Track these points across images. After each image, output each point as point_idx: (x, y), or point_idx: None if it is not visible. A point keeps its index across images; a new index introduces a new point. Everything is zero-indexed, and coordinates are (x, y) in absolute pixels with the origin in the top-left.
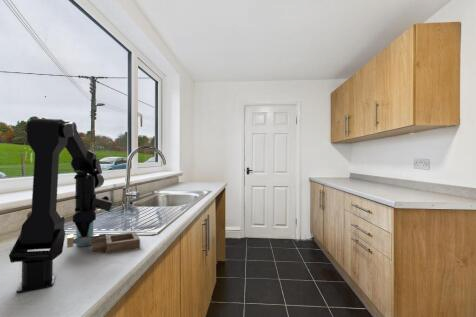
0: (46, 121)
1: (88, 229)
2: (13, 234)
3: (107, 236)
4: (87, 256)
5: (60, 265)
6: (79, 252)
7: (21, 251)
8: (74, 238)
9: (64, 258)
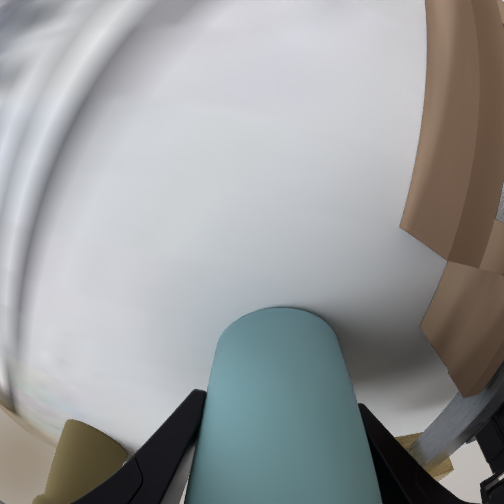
0: None
1: (417, 463)
2: (25, 426)
3: (485, 247)
4: None
5: None
6: (411, 378)
7: (492, 488)
8: (443, 460)
9: (421, 413)
